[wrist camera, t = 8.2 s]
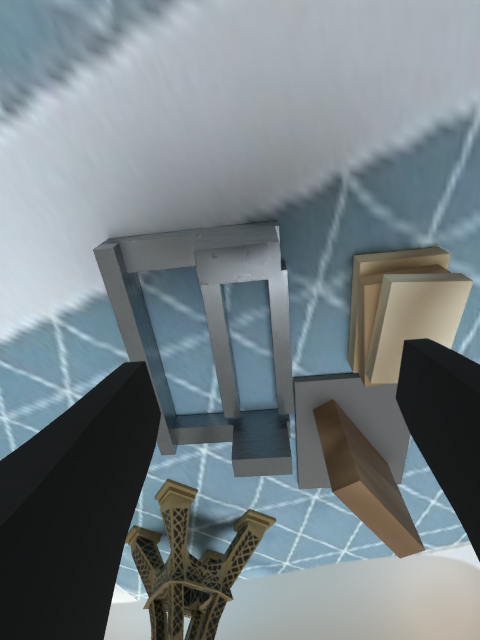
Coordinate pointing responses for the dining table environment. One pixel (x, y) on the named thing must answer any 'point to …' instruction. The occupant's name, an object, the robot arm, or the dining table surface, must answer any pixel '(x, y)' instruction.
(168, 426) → the rack
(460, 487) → the robot arm
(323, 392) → the mat
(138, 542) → the eiffel tower
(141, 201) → the dining table surface
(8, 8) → the dining table surface
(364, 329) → the offcut stack
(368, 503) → the walnut sheet
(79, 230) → the dining table surface
